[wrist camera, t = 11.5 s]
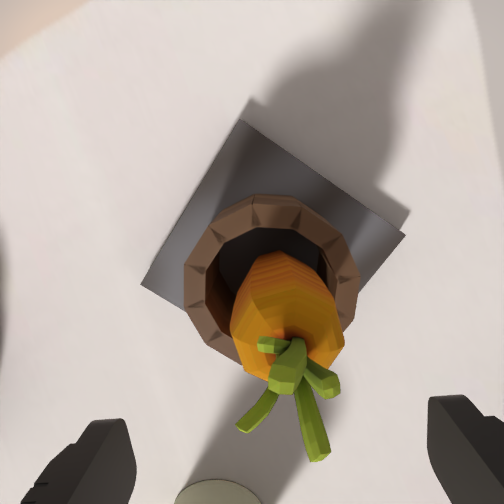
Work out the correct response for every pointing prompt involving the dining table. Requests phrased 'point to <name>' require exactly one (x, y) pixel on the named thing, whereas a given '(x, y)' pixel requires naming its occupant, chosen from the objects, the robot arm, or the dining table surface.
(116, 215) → the dining table surface
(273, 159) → the holder
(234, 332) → the carrot
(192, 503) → the can
